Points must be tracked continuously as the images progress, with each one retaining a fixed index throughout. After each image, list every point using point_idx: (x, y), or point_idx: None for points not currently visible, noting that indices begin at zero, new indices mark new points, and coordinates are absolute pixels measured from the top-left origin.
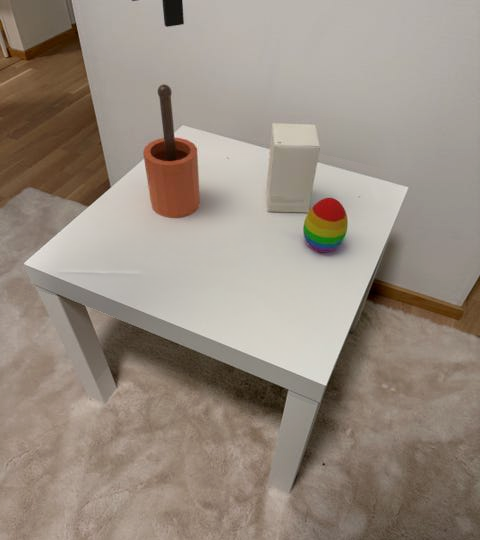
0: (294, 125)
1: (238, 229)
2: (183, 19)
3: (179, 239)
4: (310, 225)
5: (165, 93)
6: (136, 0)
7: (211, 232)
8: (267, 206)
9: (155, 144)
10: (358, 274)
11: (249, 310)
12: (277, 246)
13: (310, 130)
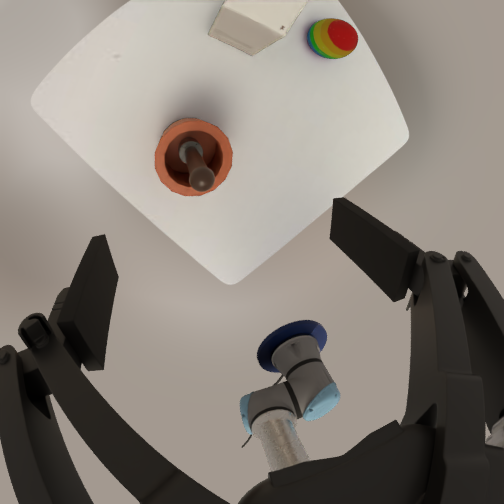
0: None
1: (265, 98)
2: (348, 200)
3: (253, 162)
4: (338, 56)
5: (214, 181)
6: (114, 267)
7: (257, 127)
8: (247, 52)
9: (168, 175)
10: (363, 47)
11: (356, 145)
12: (306, 78)
13: None
